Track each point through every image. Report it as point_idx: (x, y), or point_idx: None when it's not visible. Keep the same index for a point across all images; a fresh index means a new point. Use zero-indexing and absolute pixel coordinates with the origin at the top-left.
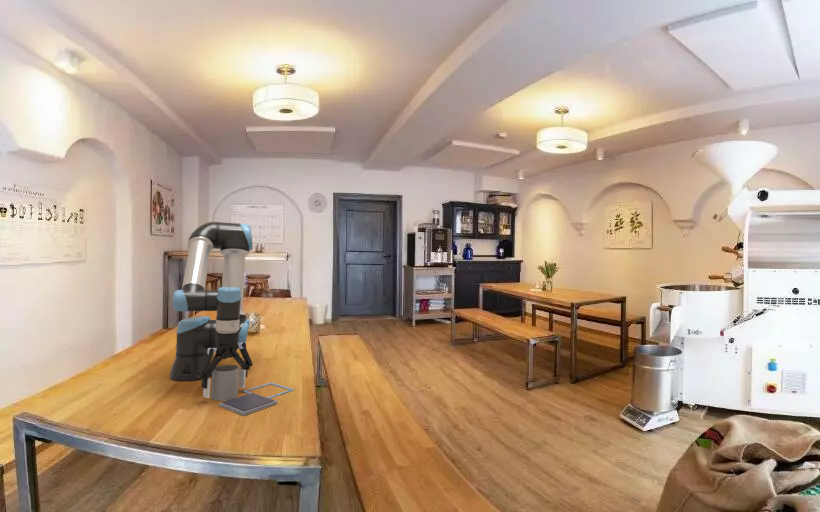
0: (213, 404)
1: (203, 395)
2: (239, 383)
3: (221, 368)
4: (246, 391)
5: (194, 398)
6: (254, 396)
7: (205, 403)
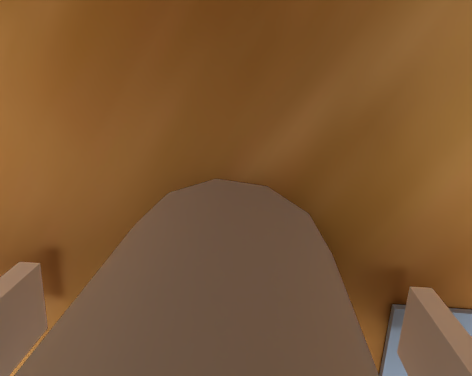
0: None
1: (12, 274)
2: (422, 318)
3: (248, 368)
4: None
5: (29, 118)
6: None
7: None
